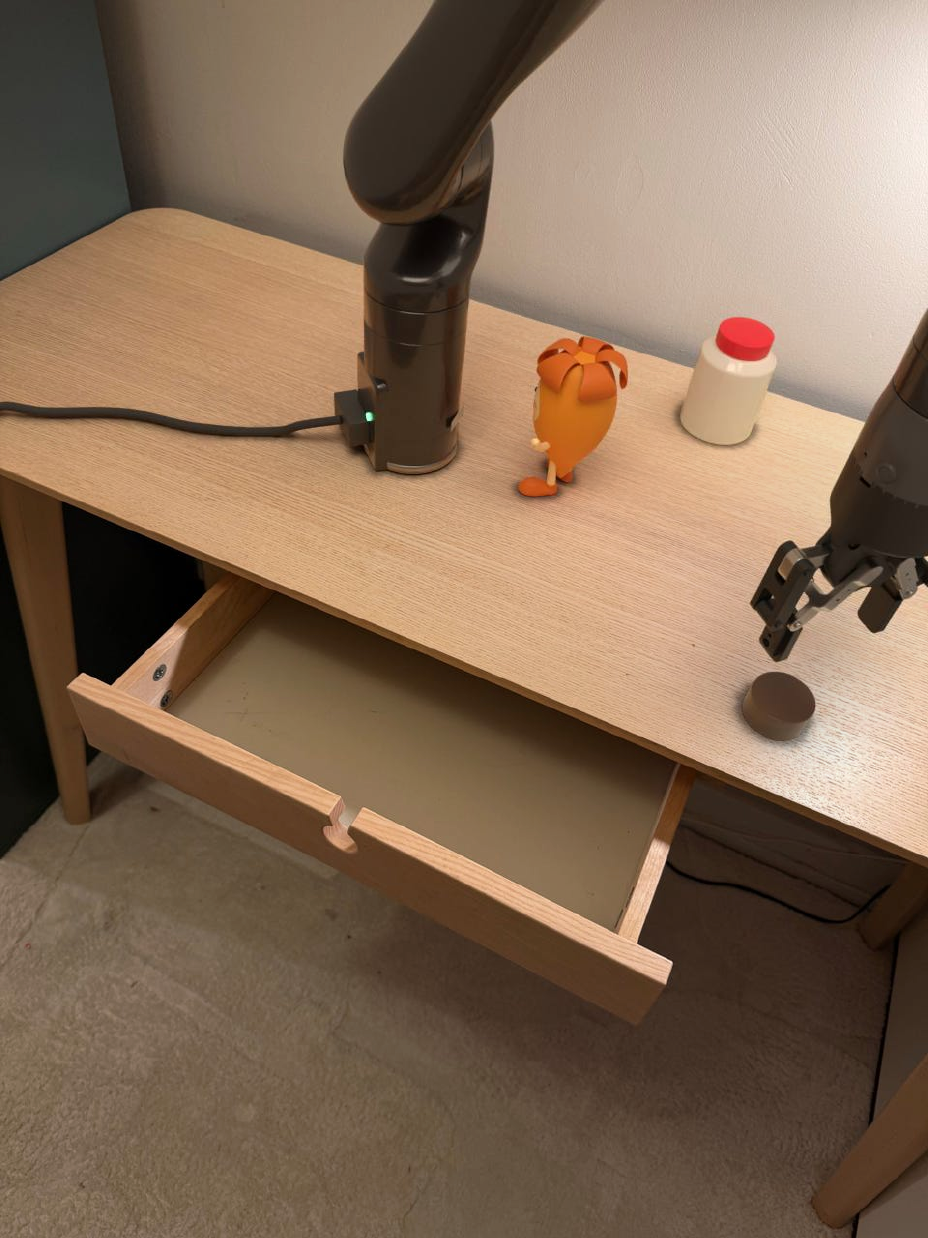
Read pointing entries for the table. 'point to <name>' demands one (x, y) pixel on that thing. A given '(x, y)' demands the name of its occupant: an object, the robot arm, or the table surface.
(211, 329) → the table surface
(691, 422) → the pill bottle
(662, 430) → the table surface
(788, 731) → the brown hockey puck
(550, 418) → the toy figure
